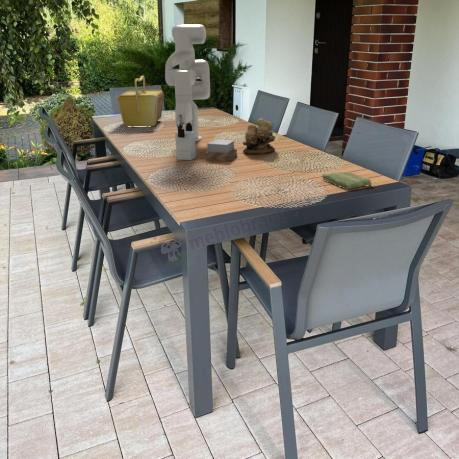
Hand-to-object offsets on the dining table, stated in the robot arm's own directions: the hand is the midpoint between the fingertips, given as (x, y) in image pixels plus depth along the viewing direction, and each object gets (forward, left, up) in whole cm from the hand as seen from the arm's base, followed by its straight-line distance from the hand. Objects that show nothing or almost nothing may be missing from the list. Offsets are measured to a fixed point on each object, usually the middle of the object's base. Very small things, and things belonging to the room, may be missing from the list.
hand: (185, 135), depth 225 cm
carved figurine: (+31, +23, -11) cm, 40 cm away
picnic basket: (-63, +79, -11) cm, 101 cm away
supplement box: (0, +1, -11) cm, 11 cm away
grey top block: (+15, +7, -8) cm, 19 cm away
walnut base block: (+16, +6, -12) cm, 21 cm away
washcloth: (+77, -19, -12) cm, 80 cm away
